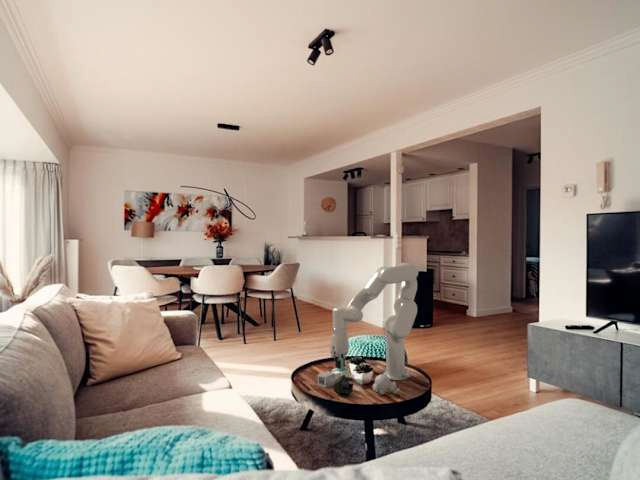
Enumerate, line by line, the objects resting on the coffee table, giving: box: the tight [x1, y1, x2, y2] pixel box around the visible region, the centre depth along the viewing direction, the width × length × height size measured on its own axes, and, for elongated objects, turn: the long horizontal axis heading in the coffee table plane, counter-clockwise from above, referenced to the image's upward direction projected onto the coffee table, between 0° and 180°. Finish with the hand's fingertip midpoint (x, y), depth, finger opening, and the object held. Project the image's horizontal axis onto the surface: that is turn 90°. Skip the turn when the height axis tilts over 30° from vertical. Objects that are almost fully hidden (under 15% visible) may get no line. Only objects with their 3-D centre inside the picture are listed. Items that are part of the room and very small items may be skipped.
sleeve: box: [317, 370, 336, 389], centre depth 193 cm, size 5×7×5 cm
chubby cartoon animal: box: [372, 373, 400, 396], centre depth 181 cm, size 7×12×8 cm, turn 83°
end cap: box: [332, 375, 354, 398], centre depth 183 cm, size 10×7×7 cm
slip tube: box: [331, 358, 344, 381], centre depth 198 cm, size 3×12×9 cm, turn 137°
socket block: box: [331, 366, 351, 381], centre depth 201 cm, size 7×6×6 cm
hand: (340, 366), depth 201 cm, fingers closed on slip tube, 2 cm apart
